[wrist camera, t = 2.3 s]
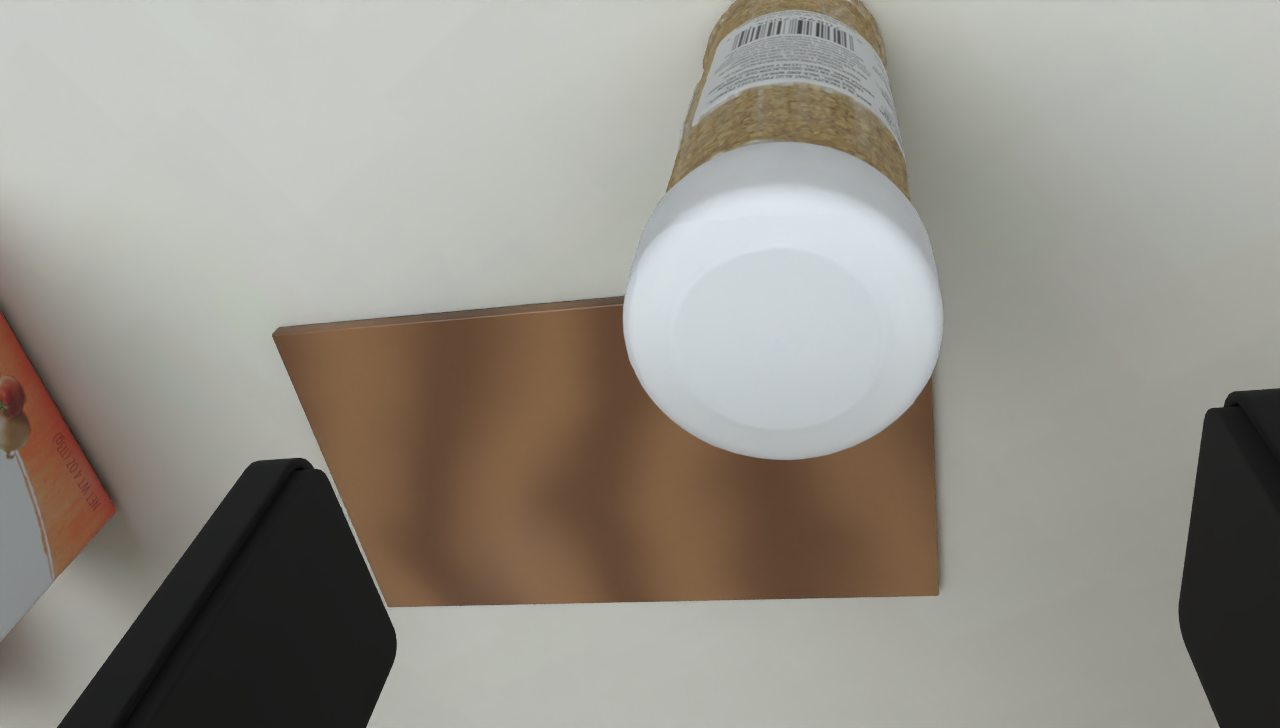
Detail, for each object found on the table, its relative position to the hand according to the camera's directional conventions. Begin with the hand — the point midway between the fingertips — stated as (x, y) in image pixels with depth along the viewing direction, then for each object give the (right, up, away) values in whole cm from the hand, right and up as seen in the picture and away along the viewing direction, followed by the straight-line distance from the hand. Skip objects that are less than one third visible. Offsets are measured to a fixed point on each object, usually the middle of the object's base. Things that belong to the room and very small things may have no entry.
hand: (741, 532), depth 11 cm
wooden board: (-2, -1, +22) cm, 22 cm away
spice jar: (+3, +9, +14) cm, 17 cm away
